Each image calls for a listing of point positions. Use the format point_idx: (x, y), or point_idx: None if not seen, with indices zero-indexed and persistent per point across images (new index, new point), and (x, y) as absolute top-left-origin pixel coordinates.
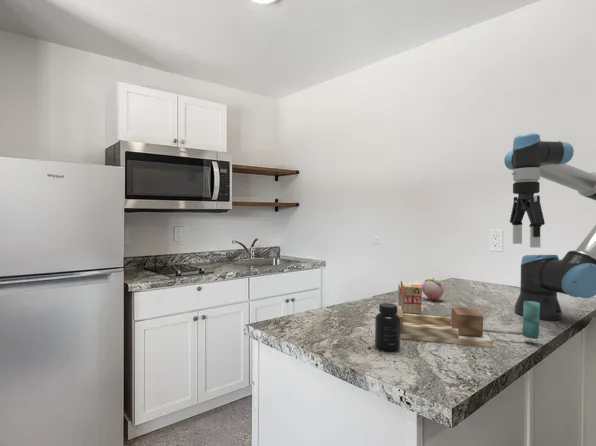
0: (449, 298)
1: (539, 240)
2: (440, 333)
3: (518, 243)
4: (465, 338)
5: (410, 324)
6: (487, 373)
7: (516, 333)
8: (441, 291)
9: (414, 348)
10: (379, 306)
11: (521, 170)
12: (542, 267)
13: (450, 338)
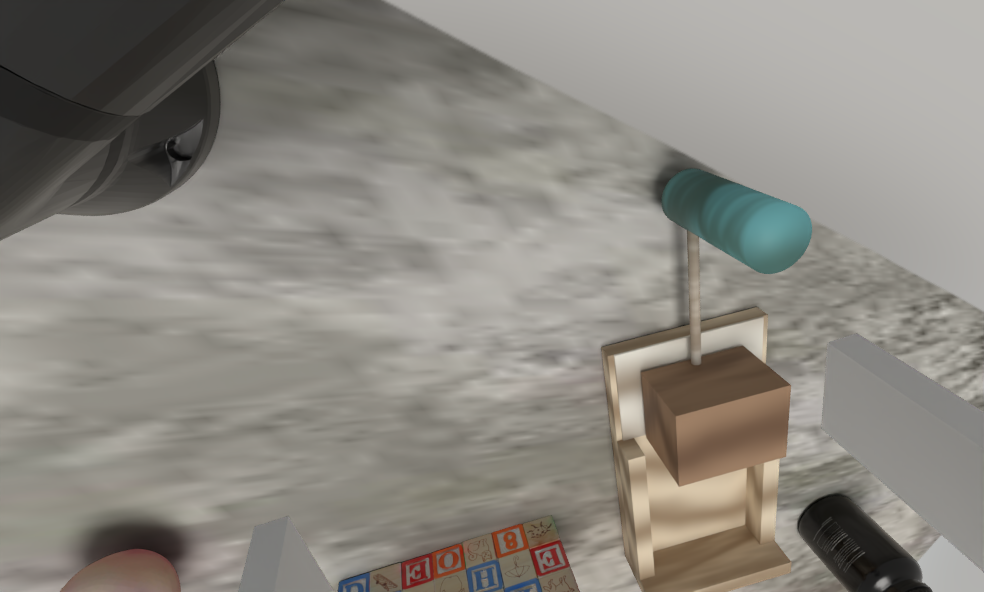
0: (12, 512)
1: (940, 397)
2: None
3: (309, 551)
4: None
5: (661, 528)
6: (945, 314)
7: (698, 247)
8: (148, 572)
9: (814, 471)
10: None
11: None
12: (58, 120)
13: None
